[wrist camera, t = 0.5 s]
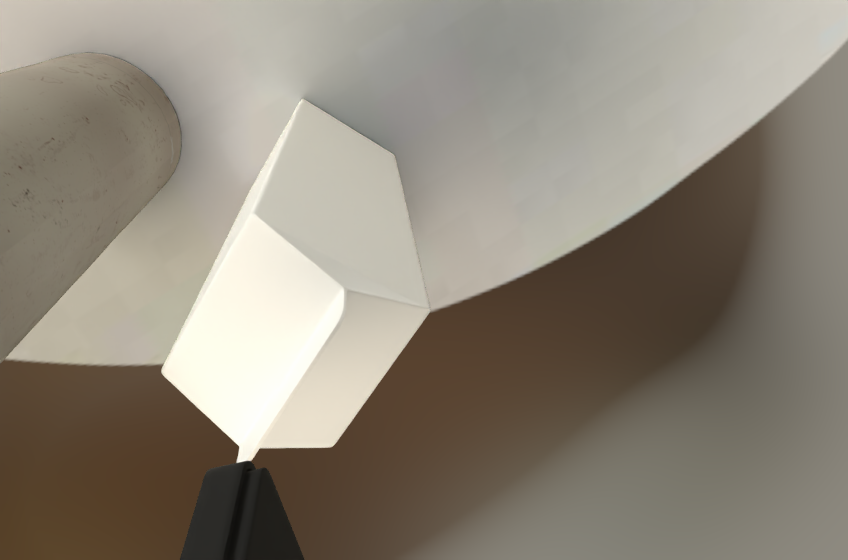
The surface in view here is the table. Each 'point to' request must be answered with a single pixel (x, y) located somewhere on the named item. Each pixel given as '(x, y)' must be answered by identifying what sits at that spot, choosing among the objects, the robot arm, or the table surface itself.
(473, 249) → the table surface
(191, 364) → the milk
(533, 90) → the table surface
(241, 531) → the robot arm
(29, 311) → the thermos bottle
